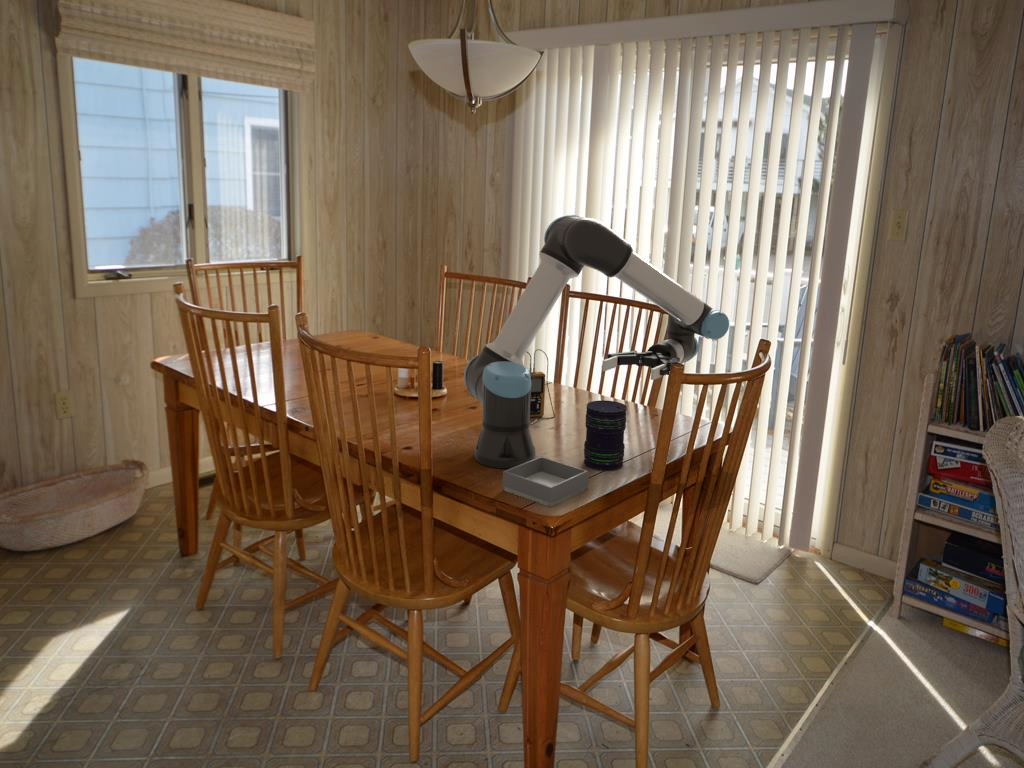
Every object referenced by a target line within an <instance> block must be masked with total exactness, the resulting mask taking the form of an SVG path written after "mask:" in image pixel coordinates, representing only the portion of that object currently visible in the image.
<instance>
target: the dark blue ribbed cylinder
mask: <svg viewBox="0 0 1024 768" xmlns="http://www.w3.org/2000/svg"><path fill="white" fill-rule="evenodd" d="M627 407H628V406H627V405H626V404H624V403H622V402H618V401H615V400H593V401H589V402H588V403H586V413H585V423H584V424H585V428H586V431H585V440H584V444H583V447H584V448H583V455H584V456H583V458H584V459H583V464H585V465H584V466H585V467H586V466H587V467H586V468H588V469H590V468H591V469H590V470H594V471H599V472H613V471H614V472H615V471H618V470H621V469H622V468H623V467H624V462H623V461H624V456H625V449H626V448H625V443H624V442H625V441H624V440H625V438H624V437H625V431H626V427H627V409H628V408H627Z"/></svg>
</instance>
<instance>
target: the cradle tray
mask: <svg viewBox="0 0 1024 768" xmlns="http://www.w3.org/2000/svg"><path fill="white" fill-rule="evenodd" d="M588 486H589V470H586V469H583V468H580V467H576V466H575V465H570V464H567V463H564V462H562V461H558V460H555V459H551V458H548V457H545V456H538V457H535V459H533V460H531V461H528V462H526V463H523V464H521V465H518V466H516V467H513V468H507V469H506V470H502V491H503V492H505V493H506V492H507V493H510V494H512V493H513V495H515V496H517V495H518V497H520V496H521V497H520V498H523V497H524V498H523V499H526V498H527V499H526V500H528V499H530V500H529V501H531V500H532V501H531V502H534V501H535V503H537V502H538V504H539V503H540V505H542V504H543V506H545V505H546V507H548V508H552V507H554V505H555V506H557V505H558V504H561V503H563V502H565V501H567V500H569V499H572V498H573V497H575V496H577V495H580V494H582V493H583V492H586V491H588V489H589V487H588Z"/></svg>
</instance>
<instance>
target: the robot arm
mask: <svg viewBox="0 0 1024 768" xmlns="http://www.w3.org/2000/svg"><path fill="white" fill-rule="evenodd" d="M543 240H544V245H543V246H542V248H541V250H540V252H539V253H538V254H539V259H540V264H539V265H538V267H537V268H536V269H535V271H534V273H533V275H532V277H531V279H530V280H529V282H528V283H527V285H526V287H525V289H524V290H523V292H522V294H520V297H519V298H518V300H517V302H516V303H515V306H514V307H513V309H512V311H511V312H510V314H509V316H508V317H507V320H506V321H505V322H504V324H503V326H502V328H501V329H500V331H499V333H498V334H497V335H496V338H495V339H494V340H493V342H489V343H485V344H484V347H483V348H482V350H481V351H480V353H479V354H477V355H475V356H474V357H472V358H471V359H470V360H469V361H468V362H467V363H466V366H465V369H464V371H463V381H464V382H463V383H464V385H465V387H466V389H467V391H468V393H469V394H470V395H471V396H472V397H473V399H475V400H476V401H478V402H479V404H481V405H482V419H481V421H482V426H481V427H482V428H481V431H480V433H479V437H478V439H477V443H476V445H475V448H474V459H475V460H476V461H475V462H478V463H479V464H481V465H483V466H486V467H491V468H493V469H494V468H496V469H511V468H513V467H516V466H518V465H521V464H523V463H526V462H528V461H531V460H533V459H536V451H537V450H536V447H535V446H534V443H533V438H532V435H531V430H530V418H531V417H530V394H531V376H530V372H529V370H530V369H528V367H526V366H525V365H524V361H523V358H524V356H525V355H526V353H527V352H528V349H529V348H530V346H531V345H532V343H533V342H534V339H535V337H536V336H537V334H538V333H539V331H540V329H541V328H542V326H543V324H544V323H545V321H546V319H547V317H548V316H549V314H550V313H551V311H552V310H553V307H554V305H555V304H556V302H557V301H558V299H559V297H560V296H561V294H562V292H564V291H563V290H564V289H565V287H566V285H567V284H568V282H569V281H570V279H574V278H577V277H579V275H580V274H581V272H582V270H583V268H584V267H587V268H590V269H593V270H596V271H598V272H600V273H602V274H603V275H605V276H606V277H608V278H614V277H615V278H616V279H618V280H619V281H621V282H622V283H623V284H625V285H627V286H628V287H629V288H631V289H632V290H634V291H635V292H637V293H638V294H639V295H641V296H642V297H644V298H646V299H647V300H649V302H651V303H652V304H654V305H656V306H657V307H659V308H660V309H661V310H663V311H664V312H666V313H668V314H667V331H666V332H667V333H666V339H665V340H663V341H660V342H657V343H654V344H652V345H651V346H650V347H648V349H647V350H645V352H638V350H636V349H635V350H630V351H625V352H624V351H623V352H615V353H607V356H606V358H605V359H603V360H602V365H601V366H602V367H601V368H602V370H601V371H602V372H607V371H609V370H611V369H615V368H617V367H618V366H630V365H635V366H637V367H647V368H650V371H651V372H650V380H652V381H654V380H658V379H659V378H661V377H663V376H666V375H667V376H670V375H669V371H670V367H671V364H672V363H674V362H677V363H681V364H683V363H687V362H689V361H690V360H692V359H693V358H694V357H695V356H696V355H697V354H698V352H699V347H700V344H699V341H698V340H697V338H696V337H695V336H696V335H699V336H700V337H703V338H705V339H707V340H720V339H721V338H723V337H724V336H725V335H726V334H727V332H728V331H729V328H730V320H729V317H728V316H727V315H726V313H724V311H723V312H722V311H721V310H719V309H714V308H713V307H712V306H710V305H708V304H707V303H706V302H704V301H703V300H701V298H699V297H697V295H696V294H694V293H692V292H690V291H689V290H688V289H686V288H685V287H684V286H682V285H681V284H679V283H678V282H676V281H675V280H674V279H672V278H671V277H669V276H668V275H667V274H665V273H664V272H663V271H662V270H660V269H658V268H657V267H655V266H654V265H653V264H652V263H650V262H649V261H648V260H646V259H645V258H643V257H642V256H640V255H639V254H638V253H636V252H635V251H634V247H633V245H632V243H630V242H628V241H627V240H626V239H624V237H622V236H620V235H619V234H618V233H616V232H615V231H614V230H613V229H611V227H609V226H607V225H606V224H605V223H603V222H602V221H600V220H598V219H595V218H592V217H584V216H579V215H577V214H576V215H574V214H570V215H564V216H560V217H557V218H556V219H554V220H553V221H552V222H551V223H550V224H548V226H547V228H546V230H545V233H544V239H543ZM526 351H527V352H526Z"/></svg>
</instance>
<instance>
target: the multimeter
mask: <svg viewBox="0 0 1024 768" xmlns="http://www.w3.org/2000/svg"><path fill="white" fill-rule="evenodd" d="M537 351H541V352H542V353H543V354H545V355H544V356H545V357H546V360H547V361H546V362H547V366H546V374H545V373H544V372H543V371H536V367H535V366H536V362H535V361H536V359H535V358H536V352H537ZM526 353H527V354H528V355H529V356H530V363H529V369H528V370H529V372H530V376H531V394H530V418H532V417H539V418H537V419H535V420H534V421H532V422H531V424H530V425H532V424H535V423H537V422H538V421H539V420H541V419H544V420H545V419H546V420H548V419H553V418H555V417H556V415H555V412H554V406H553V403H552V398H551V394H550V389H549V384H548V375H549V374H548V373H549V358H548V355H547V353H546V352H545V351H543V350H542V349H540V348H539V349H535V351H534V353H533V364H532V355H531V354H530V352H528V350H527V351H526ZM546 387H547V392H548V397H549V400H550V405H551V409H552V410H551V411H552V413H553V416H551V417H544V415H545V398H546V396H545V391H546V390H545V389H546Z"/></svg>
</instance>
